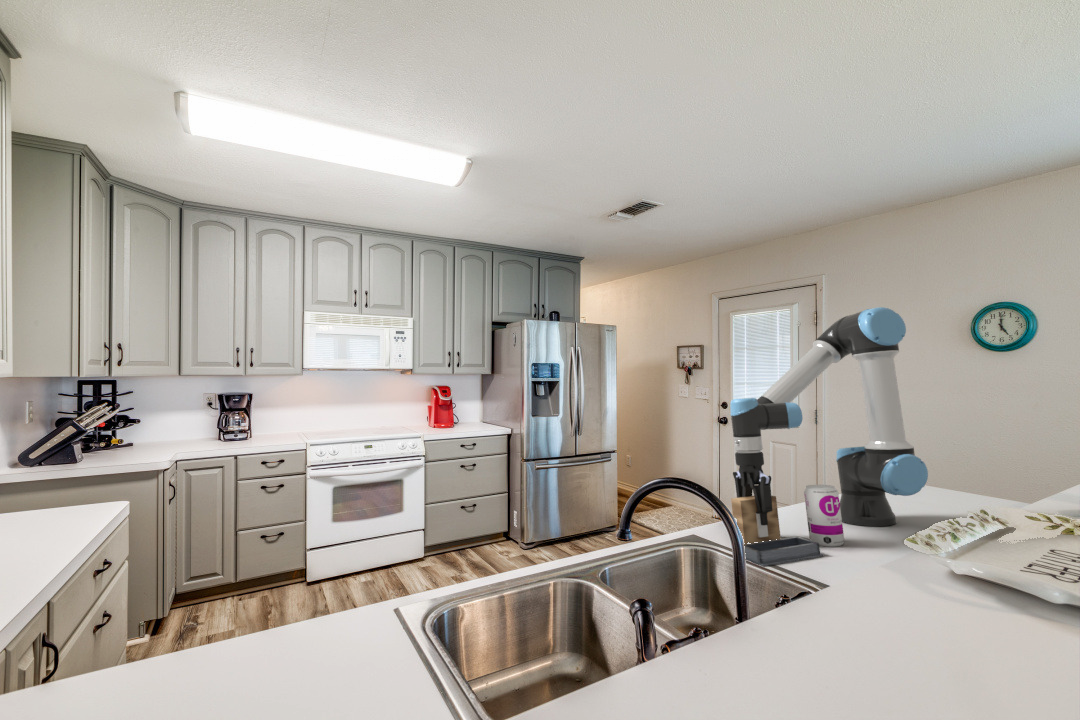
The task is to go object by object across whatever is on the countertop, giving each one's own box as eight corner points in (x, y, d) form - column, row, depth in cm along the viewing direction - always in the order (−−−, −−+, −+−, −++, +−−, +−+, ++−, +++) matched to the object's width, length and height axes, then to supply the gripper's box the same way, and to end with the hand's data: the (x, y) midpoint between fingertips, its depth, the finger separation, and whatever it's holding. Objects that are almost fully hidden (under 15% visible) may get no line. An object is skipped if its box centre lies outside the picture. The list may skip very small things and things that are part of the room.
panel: (770, 536, 138) (766, 494, 139) (780, 539, 134) (776, 496, 136) (735, 541, 135) (731, 498, 136) (744, 545, 131) (740, 500, 132)
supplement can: (851, 546, 124) (844, 488, 126) (820, 548, 125) (813, 489, 126) (833, 538, 133) (826, 483, 134) (803, 539, 133) (797, 485, 134)
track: (795, 547, 126) (794, 535, 127) (823, 556, 118) (822, 543, 118) (738, 556, 122) (737, 544, 122) (763, 566, 113) (761, 553, 113)
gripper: (719, 450, 145) (727, 529, 142) (758, 454, 128) (768, 543, 125) (740, 448, 146) (748, 526, 144) (781, 452, 130) (791, 540, 127)
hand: (757, 534), depth 135 cm, fingers closed on panel, 4 cm apart
